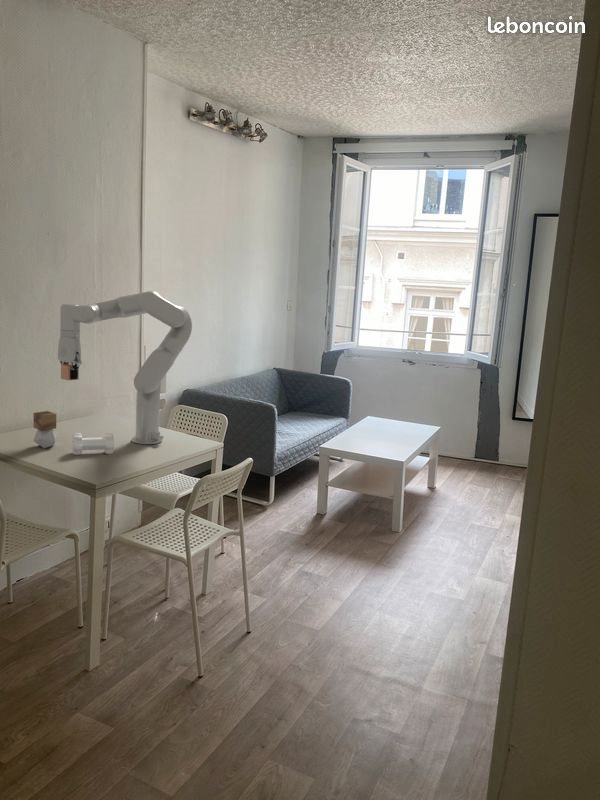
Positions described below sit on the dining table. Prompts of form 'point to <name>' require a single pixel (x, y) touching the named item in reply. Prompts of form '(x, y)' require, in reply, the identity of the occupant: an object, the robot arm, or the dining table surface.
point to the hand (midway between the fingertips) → (69, 377)
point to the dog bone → (93, 443)
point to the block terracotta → (67, 371)
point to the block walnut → (44, 420)
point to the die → (45, 438)
